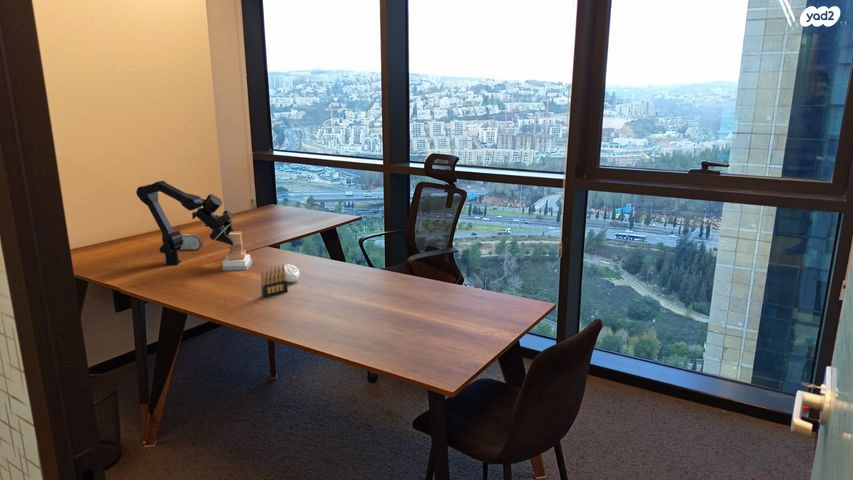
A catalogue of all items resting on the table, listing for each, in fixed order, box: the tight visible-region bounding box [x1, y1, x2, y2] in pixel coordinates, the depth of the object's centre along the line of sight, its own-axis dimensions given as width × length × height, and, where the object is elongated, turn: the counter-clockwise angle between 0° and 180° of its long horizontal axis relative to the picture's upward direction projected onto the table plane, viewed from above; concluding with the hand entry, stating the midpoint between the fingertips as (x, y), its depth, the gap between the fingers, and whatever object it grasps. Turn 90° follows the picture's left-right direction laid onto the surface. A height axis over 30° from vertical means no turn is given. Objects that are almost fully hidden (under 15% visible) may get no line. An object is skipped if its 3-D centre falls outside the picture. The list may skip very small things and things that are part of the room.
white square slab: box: [222, 253, 251, 267], centre depth 271 cm, size 10×10×2 cm
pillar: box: [227, 230, 247, 260], centre depth 269 cm, size 7×7×12 cm
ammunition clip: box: [260, 264, 289, 299], centre depth 235 cm, size 11×2×12 cm, turn 130°
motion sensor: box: [281, 264, 301, 283], centre depth 250 cm, size 8×8×8 cm
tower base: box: [221, 258, 253, 271], centre depth 272 cm, size 11×11×2 cm
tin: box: [179, 232, 204, 251], centre depth 298 cm, size 15×3×8 cm, turn 84°
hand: (235, 241), depth 269 cm, fingers open, 9 cm apart
